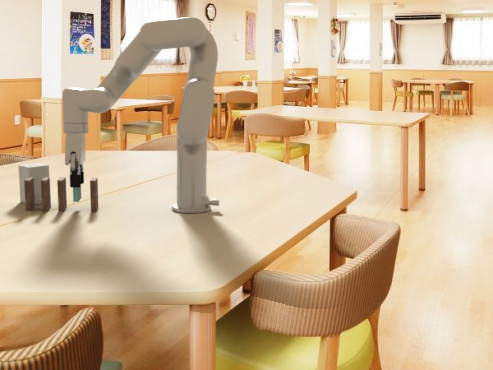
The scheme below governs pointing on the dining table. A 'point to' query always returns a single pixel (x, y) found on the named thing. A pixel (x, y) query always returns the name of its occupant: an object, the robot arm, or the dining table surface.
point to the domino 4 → (77, 193)
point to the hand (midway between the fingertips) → (77, 184)
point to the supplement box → (38, 173)
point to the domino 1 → (29, 193)
